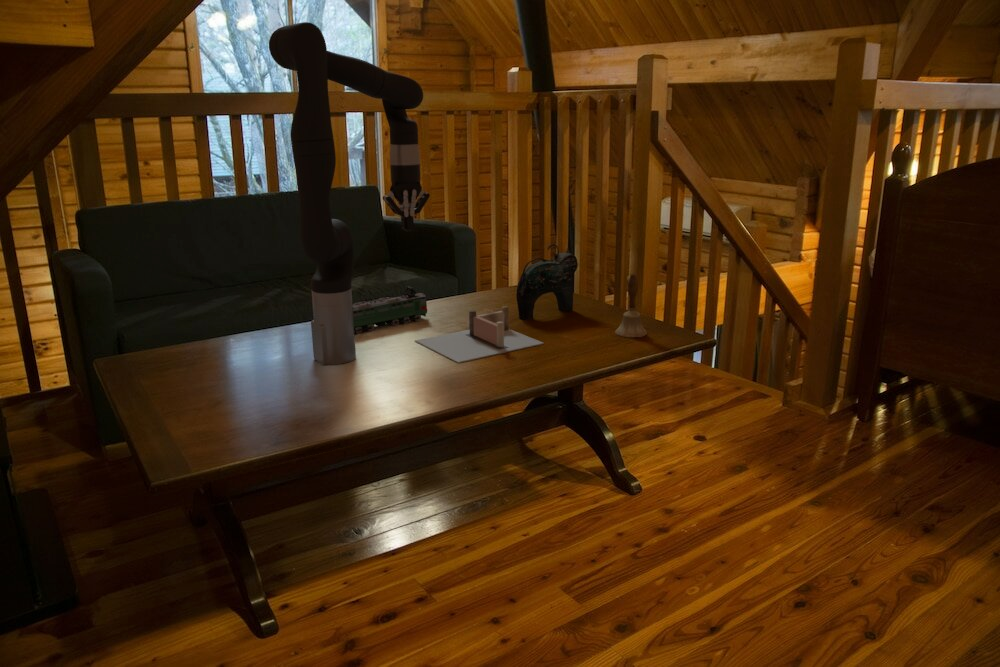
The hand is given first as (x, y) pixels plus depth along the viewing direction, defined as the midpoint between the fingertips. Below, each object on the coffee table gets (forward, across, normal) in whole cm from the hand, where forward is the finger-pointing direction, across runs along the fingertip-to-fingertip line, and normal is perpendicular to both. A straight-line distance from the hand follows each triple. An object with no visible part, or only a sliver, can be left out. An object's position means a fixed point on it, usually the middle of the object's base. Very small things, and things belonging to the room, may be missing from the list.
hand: (407, 230), depth 203 cm
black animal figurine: (+27, +40, -8) cm, 49 cm away
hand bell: (+27, +46, -36) cm, 64 cm away
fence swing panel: (+26, +10, -21) cm, 35 cm away
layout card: (+27, +9, -20) cm, 34 cm away
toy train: (+28, -5, +8) cm, 29 cm away
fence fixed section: (+27, +16, -14) cm, 34 cm away
